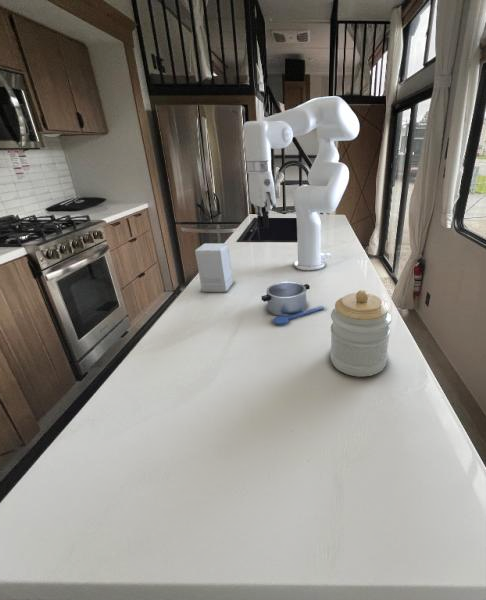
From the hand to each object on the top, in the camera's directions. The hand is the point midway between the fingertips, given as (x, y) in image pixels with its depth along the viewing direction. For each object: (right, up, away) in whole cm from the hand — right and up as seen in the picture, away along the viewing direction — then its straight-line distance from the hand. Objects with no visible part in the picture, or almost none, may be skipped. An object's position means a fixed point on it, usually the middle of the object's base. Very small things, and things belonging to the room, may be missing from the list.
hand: (263, 227), depth 106 cm
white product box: (-18, -19, +10) cm, 28 cm away
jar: (+26, -38, -31) cm, 55 cm away
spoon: (+11, -29, -11) cm, 33 cm away
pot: (+8, -26, -6) cm, 28 cm away
